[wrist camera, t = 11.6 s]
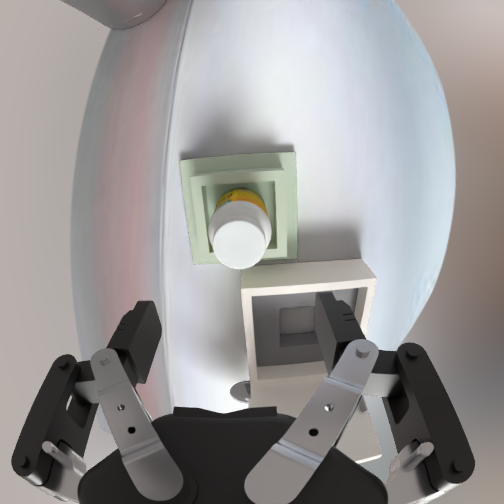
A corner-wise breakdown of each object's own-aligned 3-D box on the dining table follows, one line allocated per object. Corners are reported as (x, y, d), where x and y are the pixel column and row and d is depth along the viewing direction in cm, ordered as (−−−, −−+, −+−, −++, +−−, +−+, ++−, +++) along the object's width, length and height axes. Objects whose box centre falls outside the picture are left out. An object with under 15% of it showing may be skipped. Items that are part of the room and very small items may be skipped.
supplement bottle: (251, 242, 31) (253, 288, 22) (207, 221, 30) (191, 260, 21) (275, 200, 29) (288, 232, 20) (230, 176, 28) (221, 198, 19)
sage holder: (181, 160, 27) (173, 163, 24) (294, 151, 27) (300, 154, 24) (194, 261, 32) (189, 275, 29) (296, 255, 32) (300, 268, 29)
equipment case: (241, 266, 33) (236, 403, 15) (361, 258, 33) (439, 368, 15) (250, 364, 40) (252, 477, 23) (344, 355, 40) (379, 457, 22)
